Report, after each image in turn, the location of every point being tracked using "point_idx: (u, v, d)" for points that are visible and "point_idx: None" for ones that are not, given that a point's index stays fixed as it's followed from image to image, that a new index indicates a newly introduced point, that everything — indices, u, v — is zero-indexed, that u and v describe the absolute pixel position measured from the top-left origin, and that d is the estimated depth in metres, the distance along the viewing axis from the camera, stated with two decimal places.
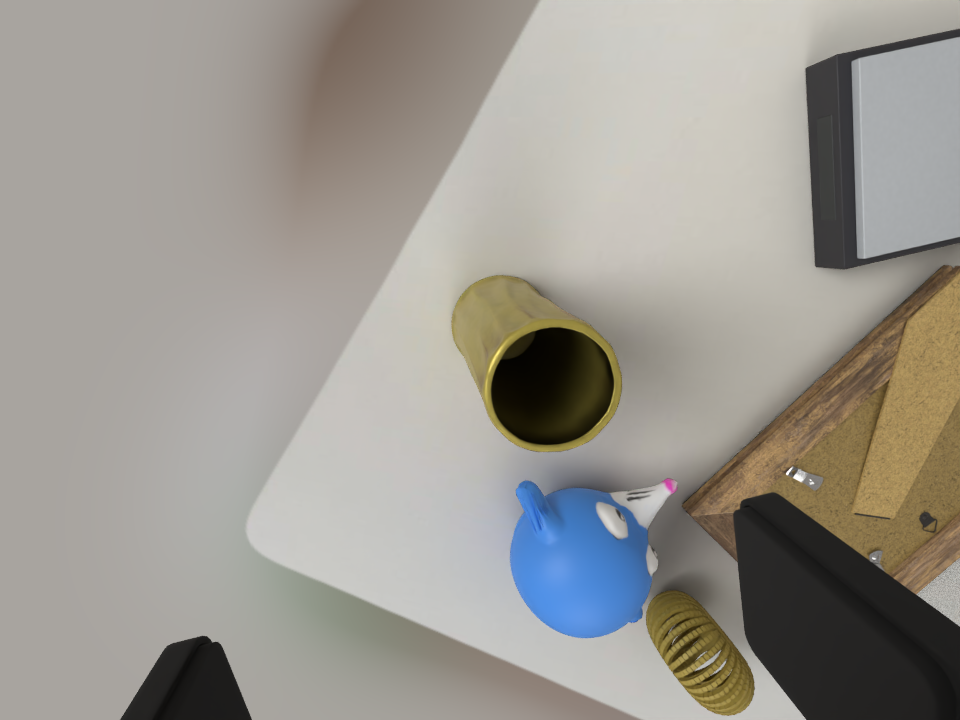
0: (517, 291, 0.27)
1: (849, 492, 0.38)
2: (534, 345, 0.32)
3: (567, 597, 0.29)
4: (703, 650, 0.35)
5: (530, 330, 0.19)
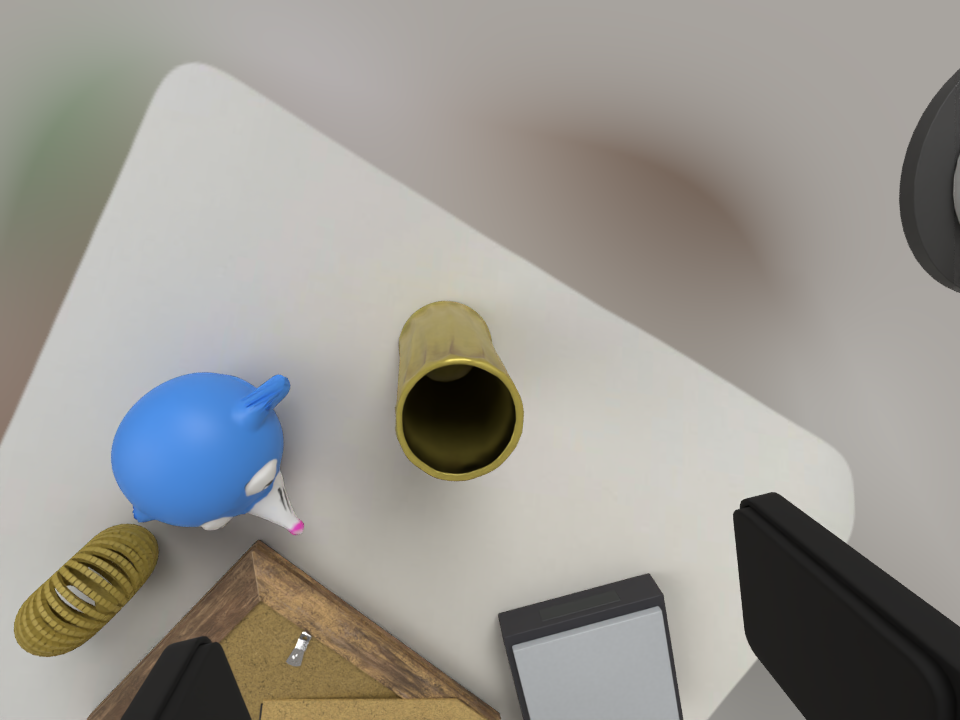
0: None
1: (284, 692, 0.38)
2: (430, 382, 0.33)
3: (174, 443, 0.26)
4: None
5: (514, 396, 0.21)
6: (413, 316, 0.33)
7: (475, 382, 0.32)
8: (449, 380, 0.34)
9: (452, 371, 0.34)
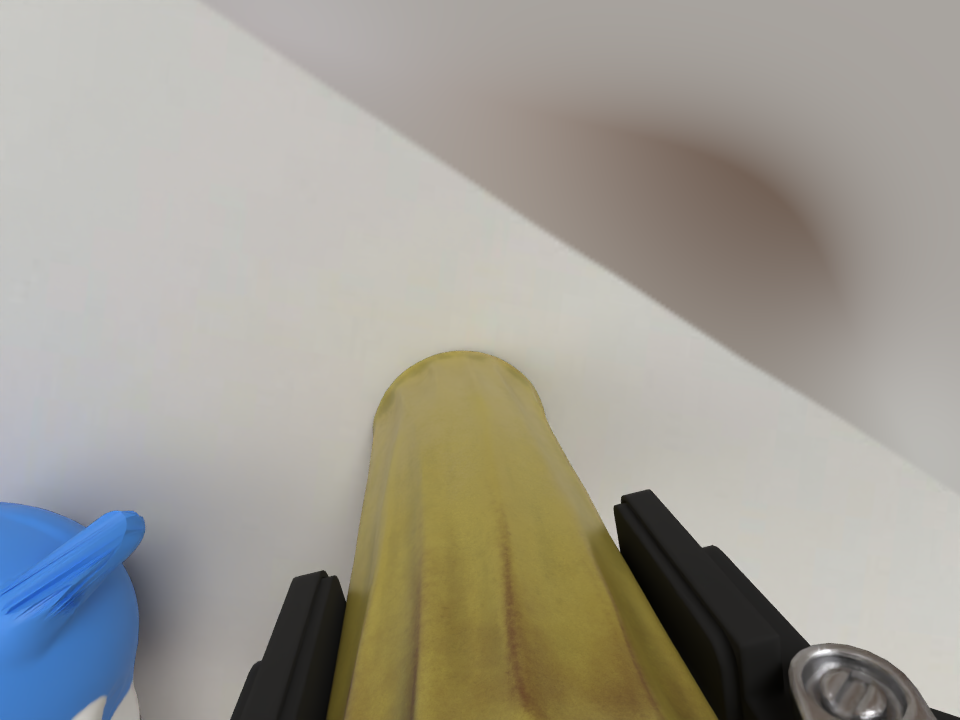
0: None
1: None
2: None
3: None
4: None
5: None
6: (400, 380, 0.17)
7: None
8: None
9: None
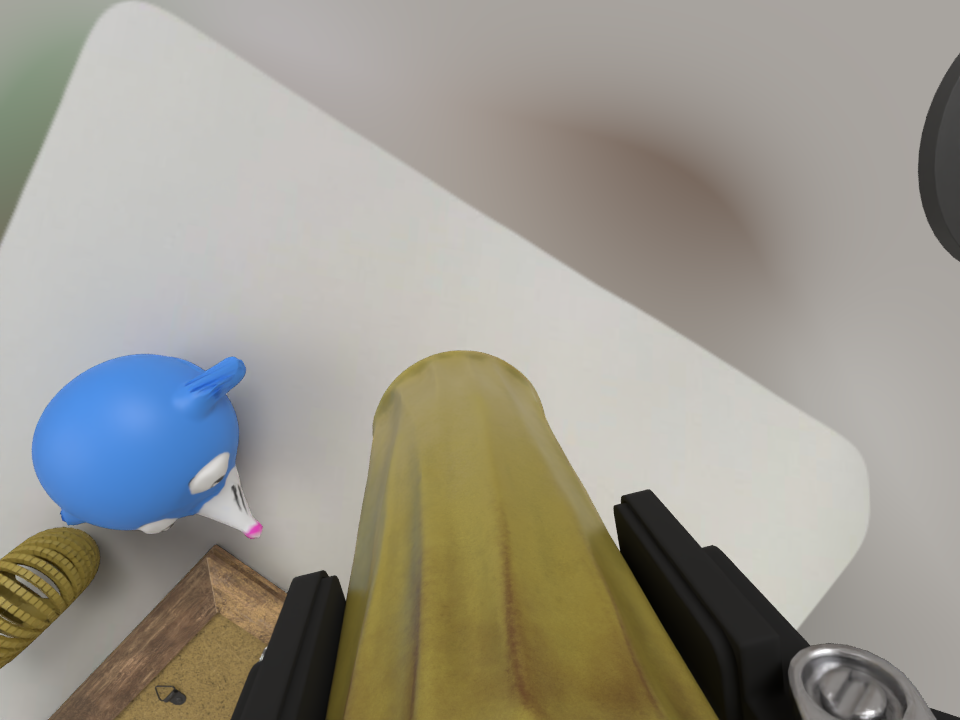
0: None
1: None
2: None
3: (102, 432, 0.23)
4: (18, 605, 0.28)
5: None
6: (400, 380, 0.17)
7: None
8: None
9: None
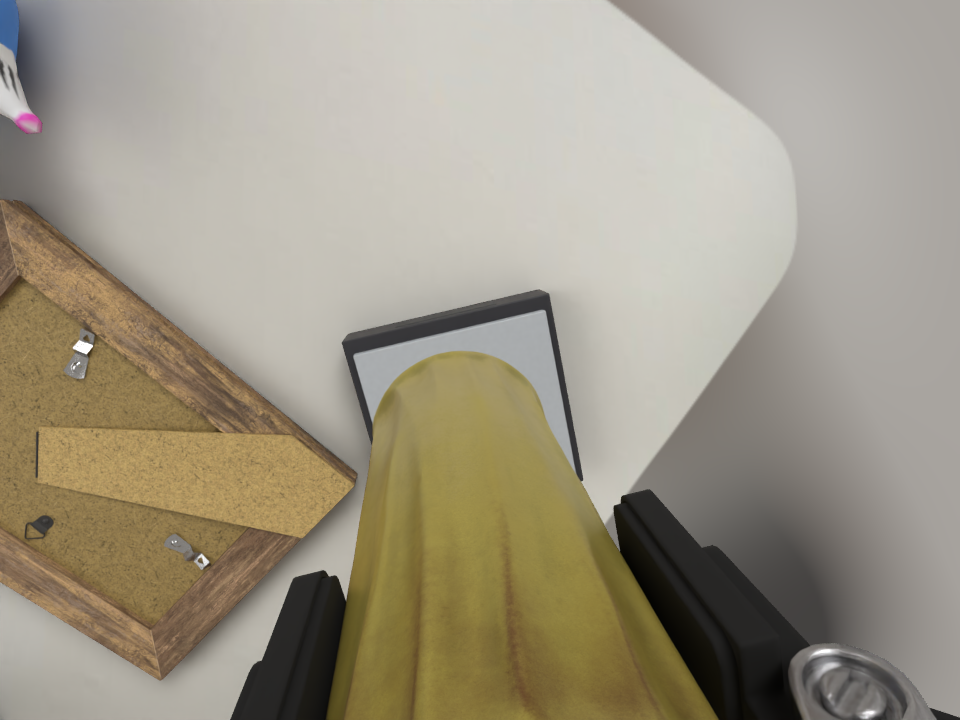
0: None
1: (67, 418, 0.30)
2: None
3: None
4: None
5: None
6: (400, 380, 0.17)
7: None
8: None
9: None
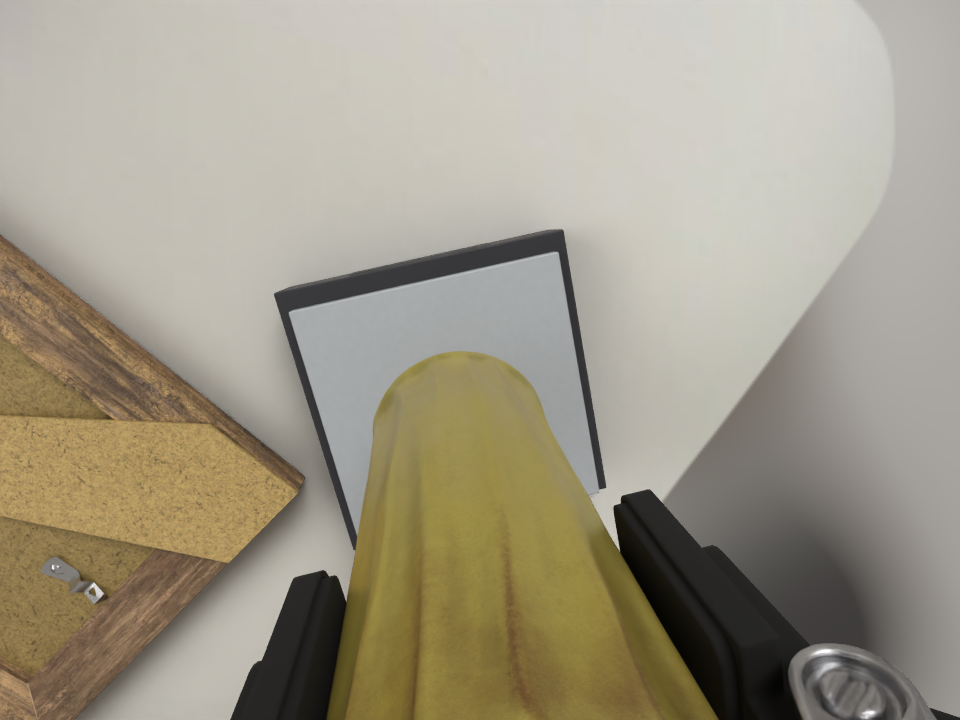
0: None
1: None
2: None
3: None
4: None
5: None
6: (400, 381, 0.17)
7: None
8: None
9: None
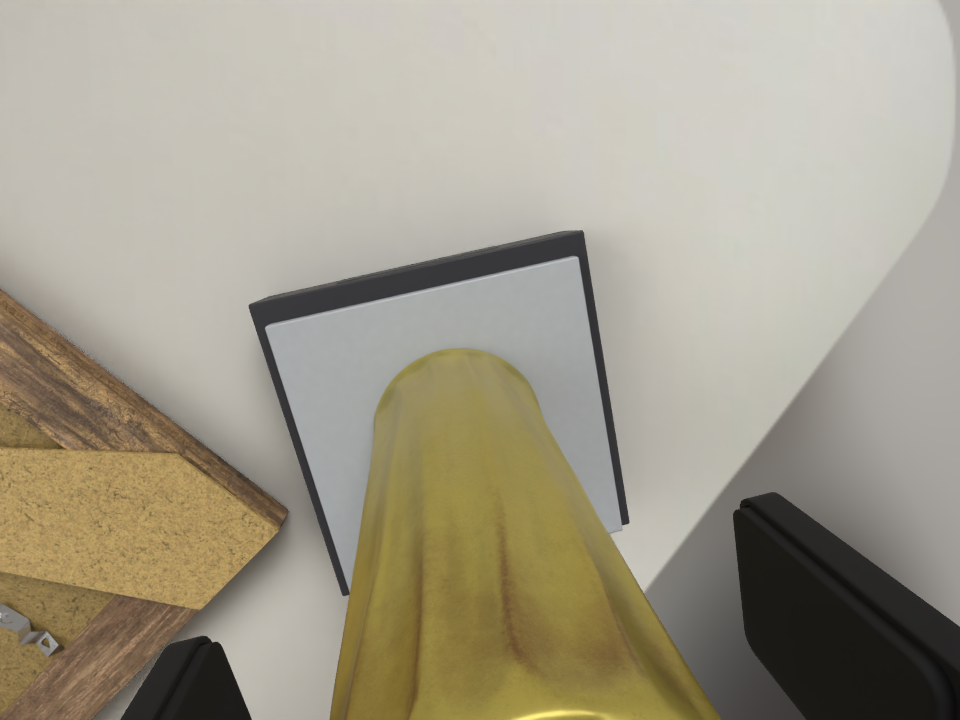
0: None
1: None
2: None
3: None
4: None
5: None
6: (400, 377, 0.18)
7: None
8: None
9: None
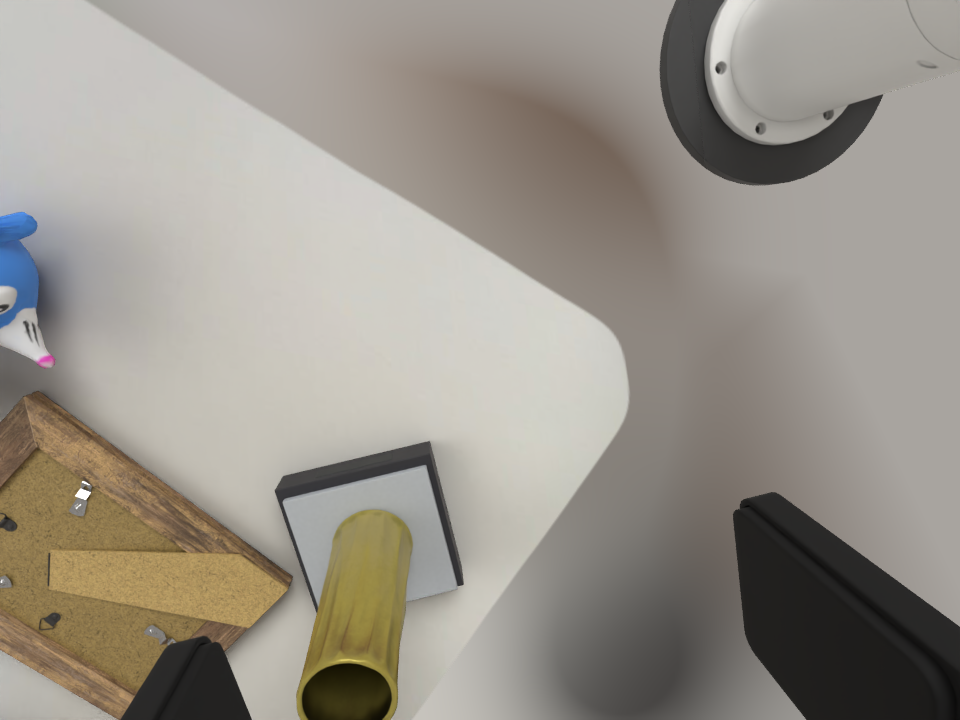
0: (405, 592, 0.35)
1: (71, 543, 0.40)
2: None
3: None
4: None
5: (389, 683, 0.27)
6: (343, 524, 0.39)
7: None
8: None
9: None
